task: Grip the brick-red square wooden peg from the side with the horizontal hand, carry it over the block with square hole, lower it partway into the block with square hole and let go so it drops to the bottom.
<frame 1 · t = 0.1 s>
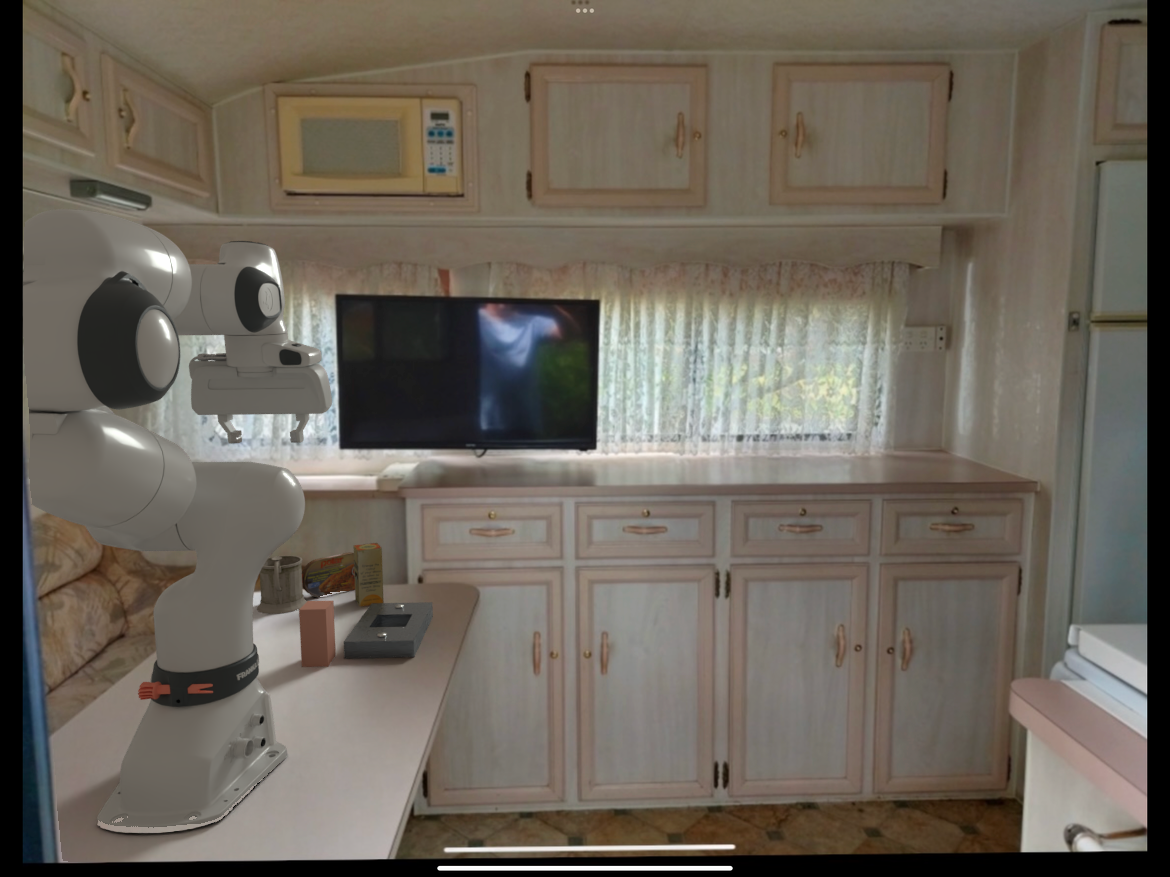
hand: (266, 442, 115), 39 cm above the table, fingers open, 8 cm apart
mug: (281, 610, 154), on the table
block with square hole: (391, 636, 139), on the table
shoe polish box: (369, 602, 158), on the table
tin: (336, 593, 165), on the table
square peg: (319, 661, 128), on the table
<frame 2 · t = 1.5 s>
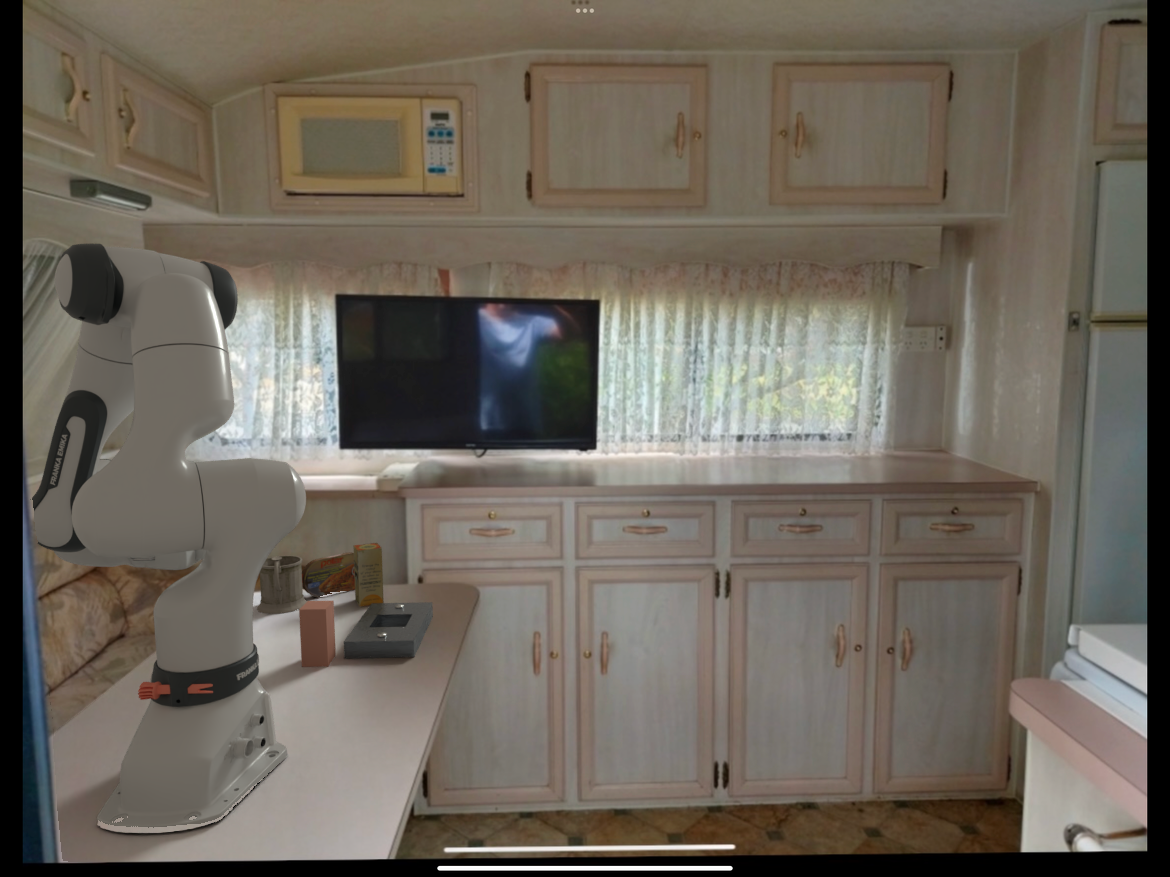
hand: (243, 542, 125), 21 cm above the table, fingers open, 8 cm apart
nothing on the table moved.
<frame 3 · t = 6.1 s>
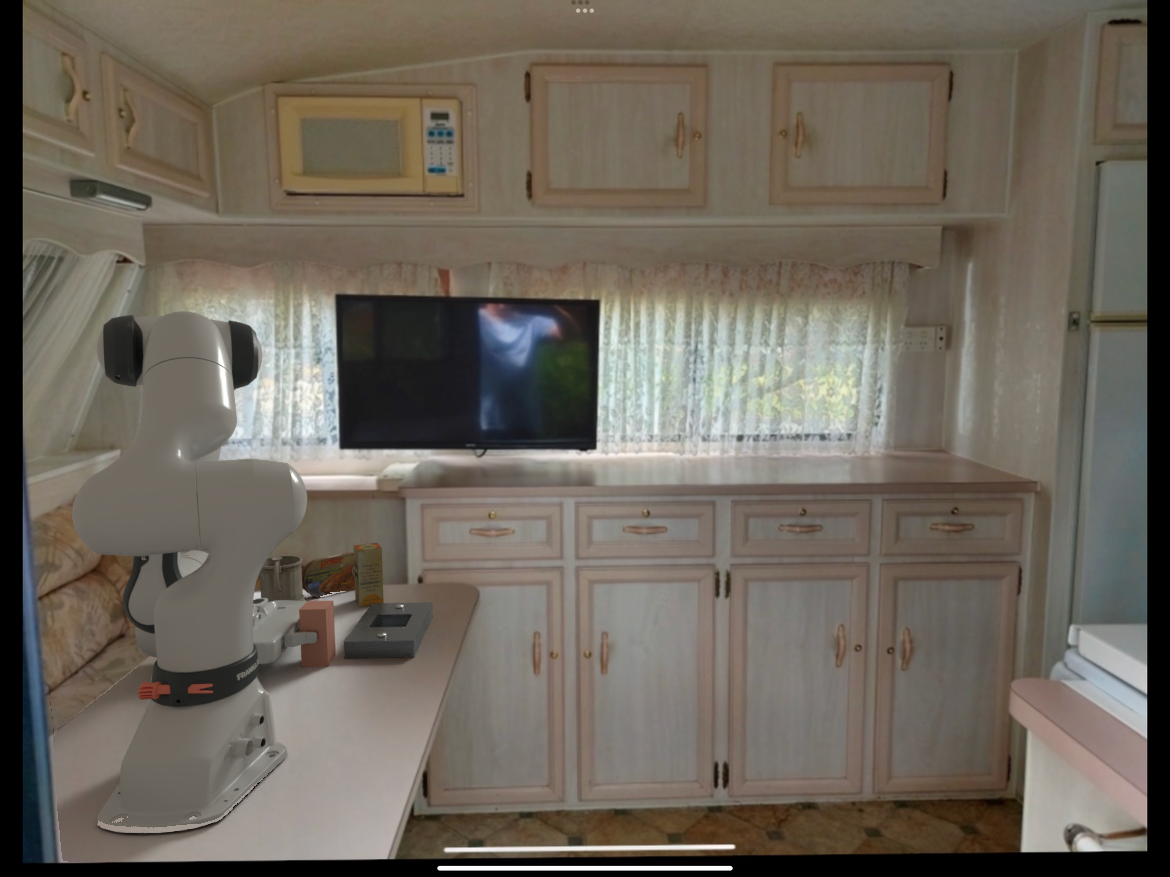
hand: (322, 630, 127), 6 cm above the table, fingers closed on square peg, 4 cm apart
square peg: (319, 661, 128), on the table, touching gripper
everything else where it was.
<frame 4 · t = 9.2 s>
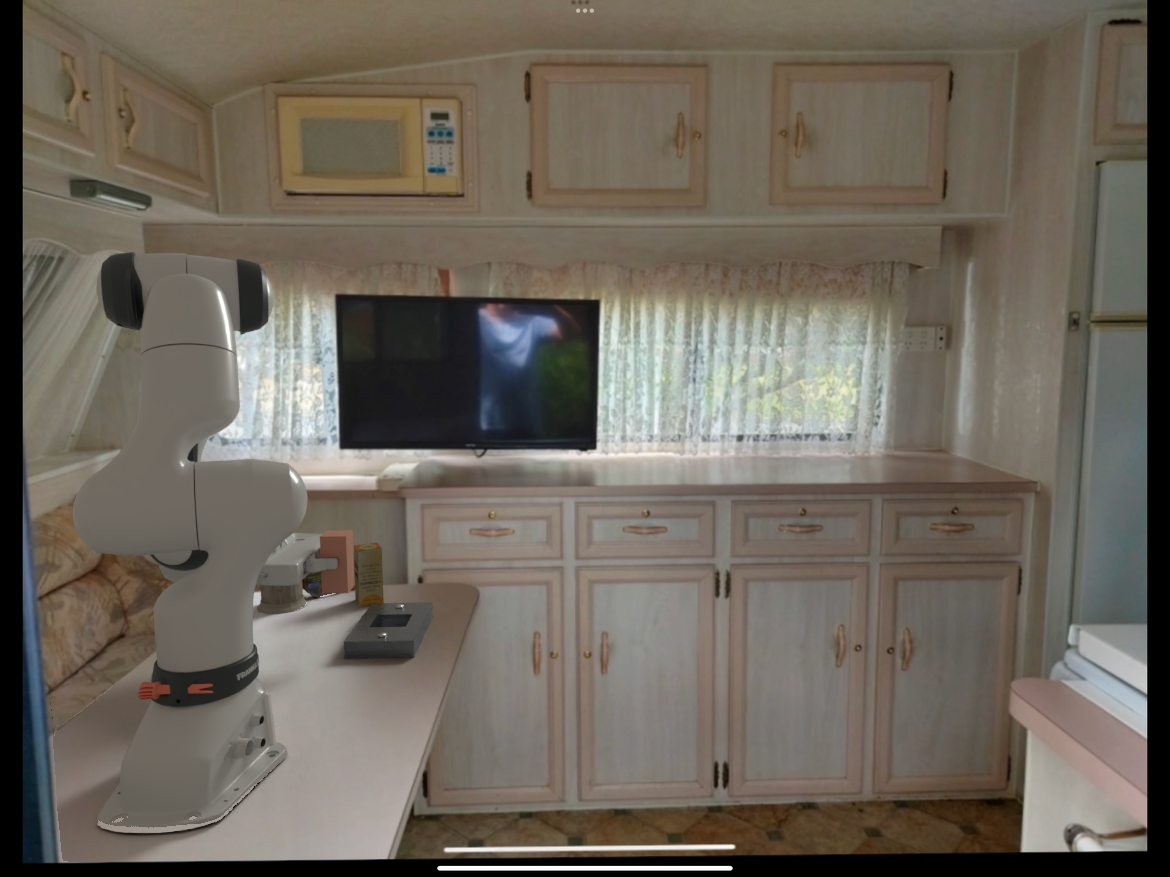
hand: (342, 558, 129), 17 cm above the table, fingers closed on square peg, 4 cm apart
square peg: (338, 589, 130), point 12 cm above the table, touching gripper
everything else where it was.
when the fingers open (8 cm above the table, at t = 12.6 s): square peg drops 2 cm, resting in block with square hole.
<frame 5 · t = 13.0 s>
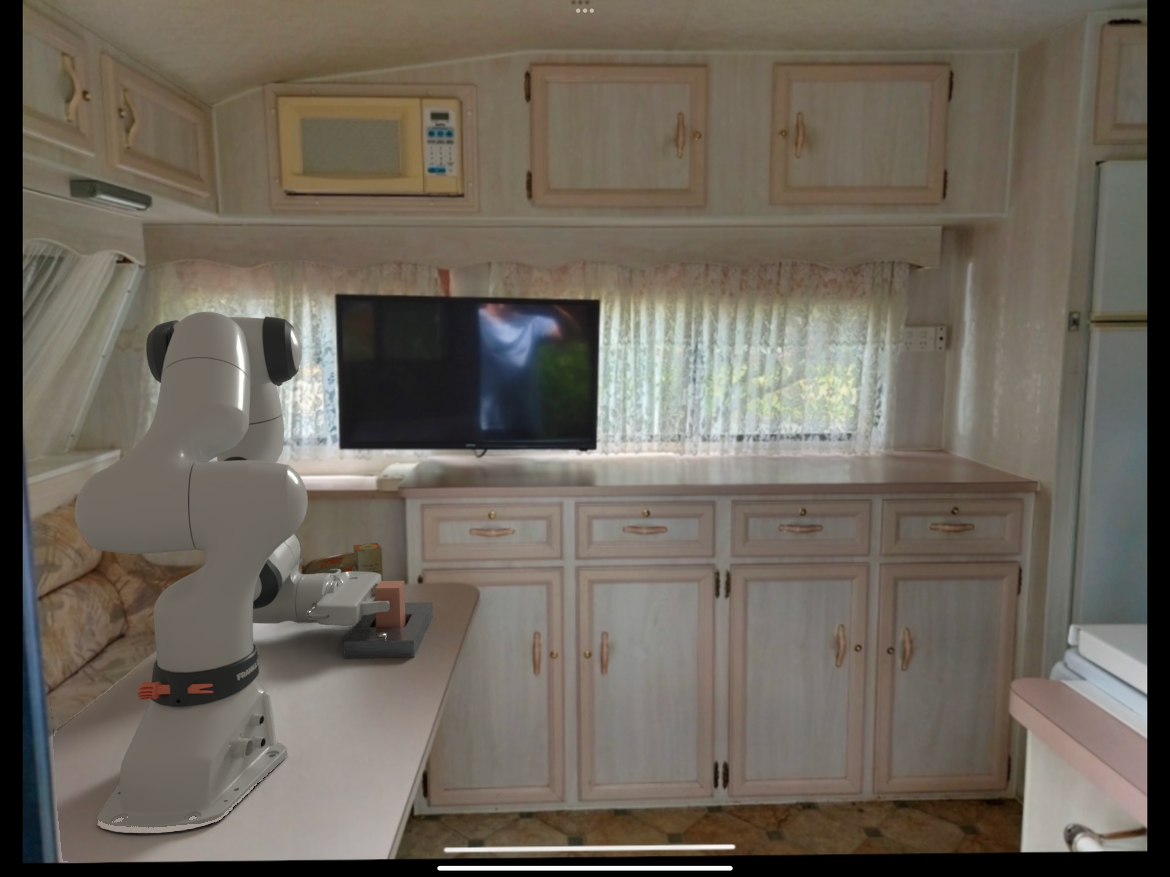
hand: (395, 597, 138), 8 cm above the table, fingers open, 8 cm apart
square peg: (391, 636, 139), resting in block with square hole
everything else where it was.
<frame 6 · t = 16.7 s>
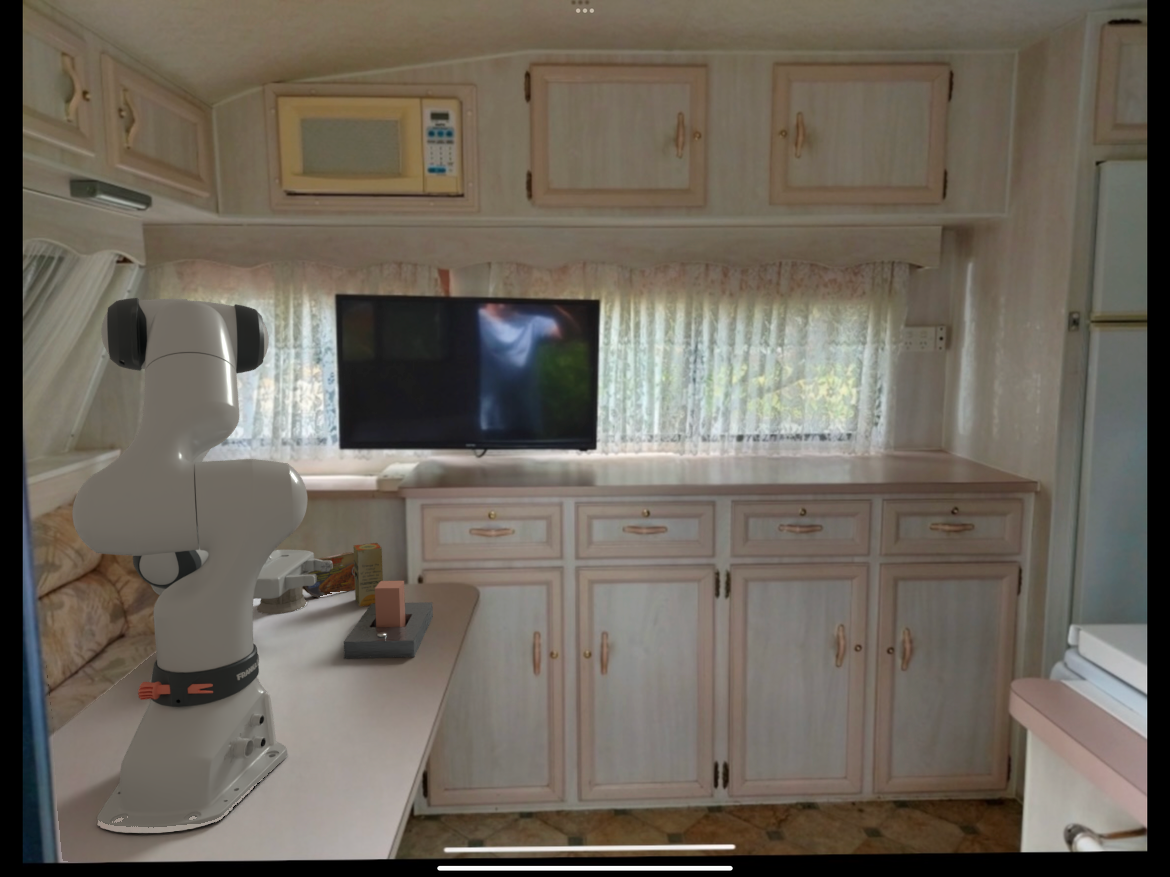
hand: (323, 572, 136), 13 cm above the table, fingers open, 8 cm apart
nothing on the table moved.
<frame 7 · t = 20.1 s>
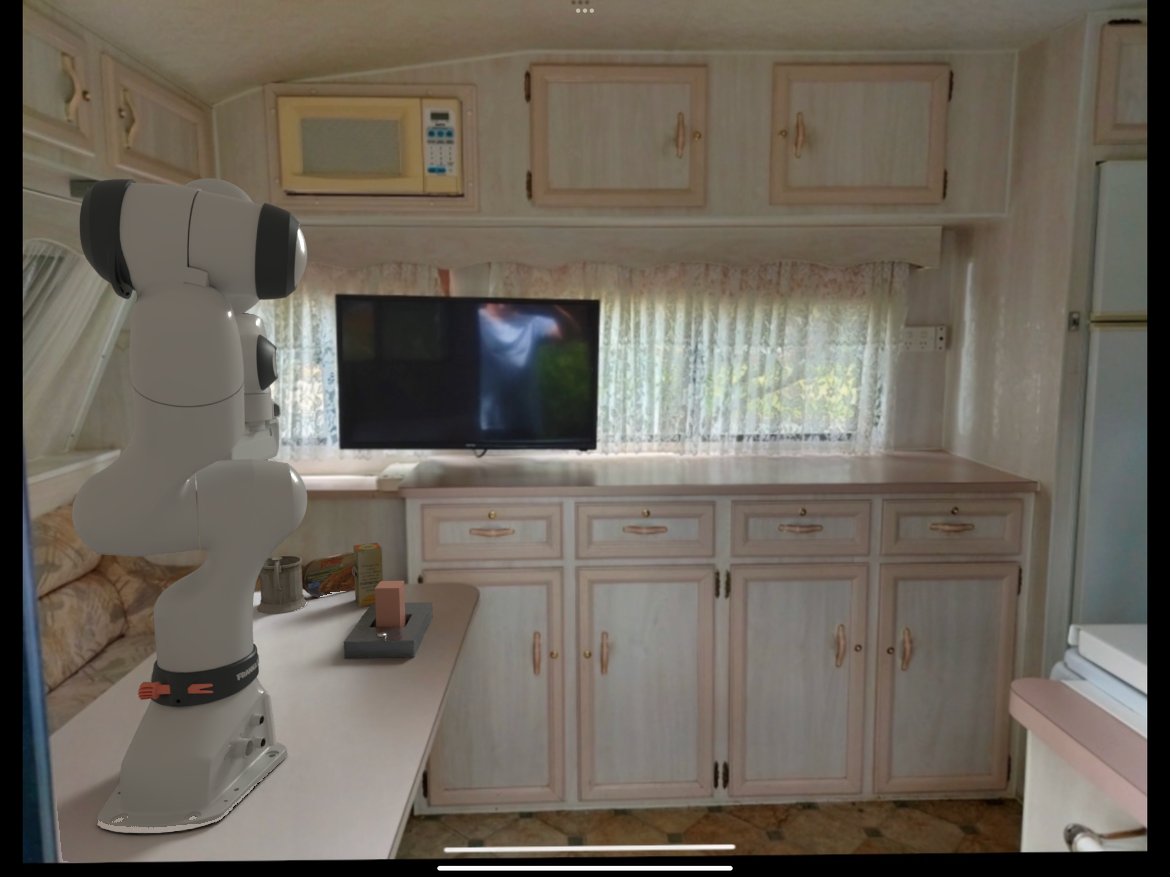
hand: (248, 490, 128), 29 cm above the table, fingers open, 8 cm apart
nothing on the table moved.
at the end: square peg 0.1 cm off-centre on the block with square hole, point 0.0 cm above the block with square hole's base; square peg tilted 0°; the gripper is holding nothing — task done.
